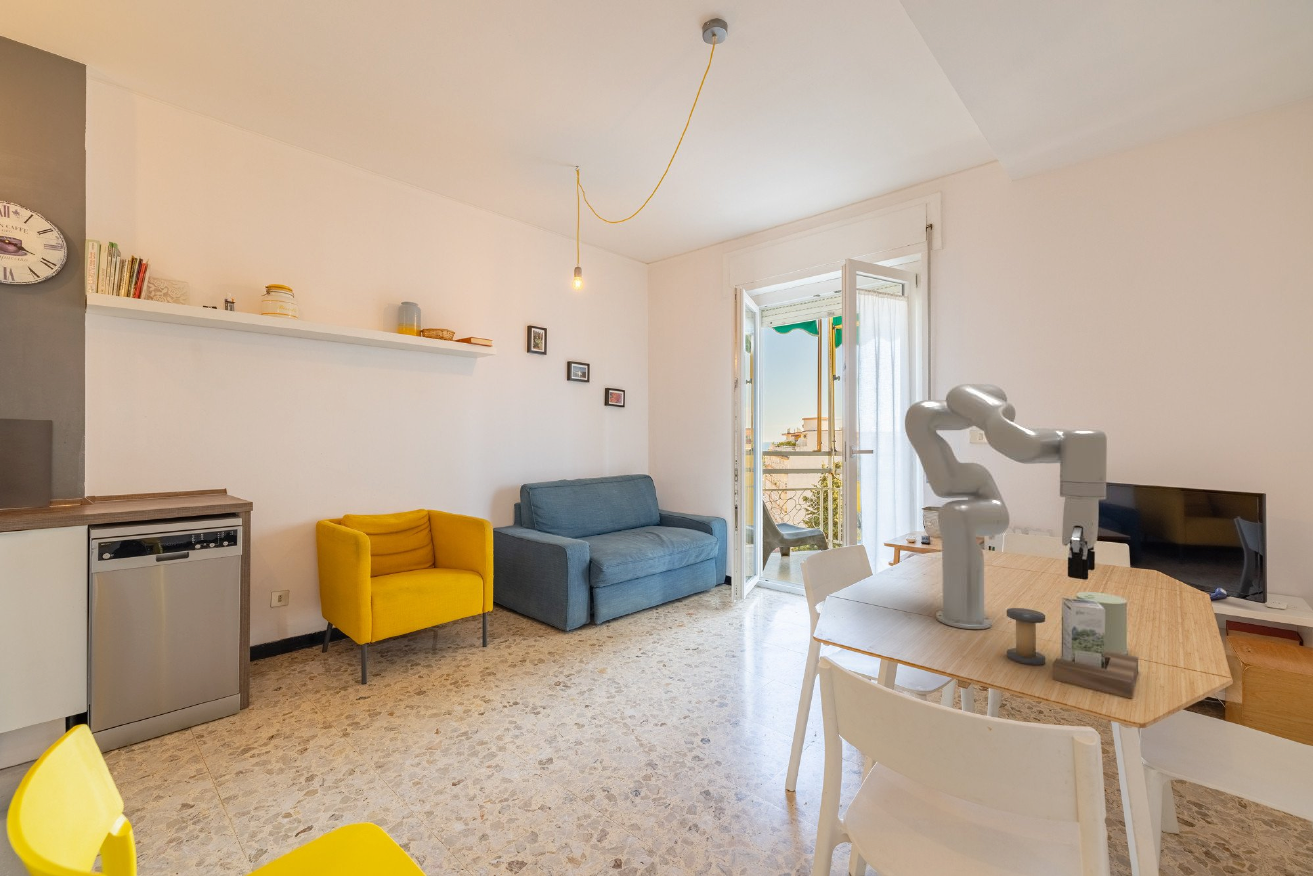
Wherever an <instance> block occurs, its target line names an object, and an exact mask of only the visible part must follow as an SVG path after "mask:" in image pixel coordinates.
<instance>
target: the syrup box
mask: <svg viewBox="0 0 1313 876" xmlns="http://www.w3.org/2000/svg"><path fill="white" fill-rule="evenodd" d="M1061 659H1063V660H1068V661H1072V662H1077V663H1081V664H1086V665H1090V666H1094V667H1099V668H1103V669H1104V668H1105V609H1104V608H1103V607H1102V606H1101V605H1100V604H1099V603H1098V602H1096V601H1094V600H1084V599H1076V598H1070V597H1069V598H1067V597H1062V598H1061Z"/></svg>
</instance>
